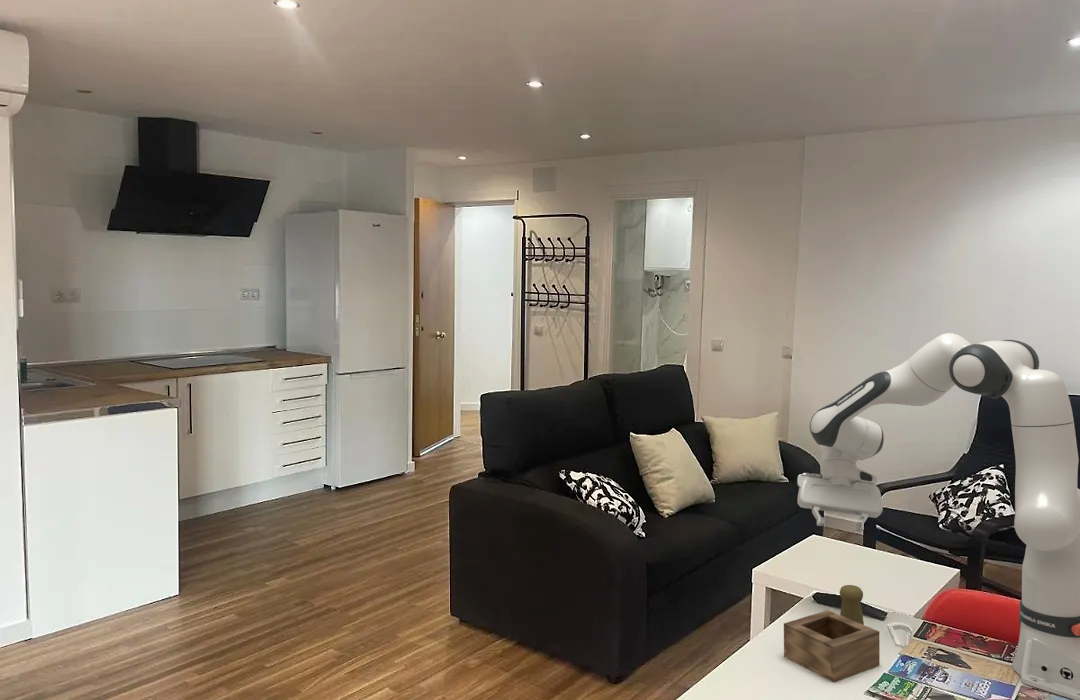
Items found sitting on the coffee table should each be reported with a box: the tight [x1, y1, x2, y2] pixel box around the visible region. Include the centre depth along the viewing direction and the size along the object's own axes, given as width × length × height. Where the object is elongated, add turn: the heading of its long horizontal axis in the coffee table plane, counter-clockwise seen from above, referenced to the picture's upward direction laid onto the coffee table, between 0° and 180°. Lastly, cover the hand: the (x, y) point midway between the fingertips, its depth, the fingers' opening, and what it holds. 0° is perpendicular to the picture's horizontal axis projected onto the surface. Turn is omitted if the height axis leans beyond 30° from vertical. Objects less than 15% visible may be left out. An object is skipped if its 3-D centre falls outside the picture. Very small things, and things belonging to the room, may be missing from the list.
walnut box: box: [783, 609, 881, 683], centre depth 175 cm, size 14×14×8 cm
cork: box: [839, 584, 865, 625], centre depth 189 cm, size 6×6×11 cm
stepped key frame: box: [886, 621, 914, 649], centre depth 186 cm, size 13×5×2 cm, turn 167°
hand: (840, 527), depth 198 cm, fingers open, 8 cm apart
